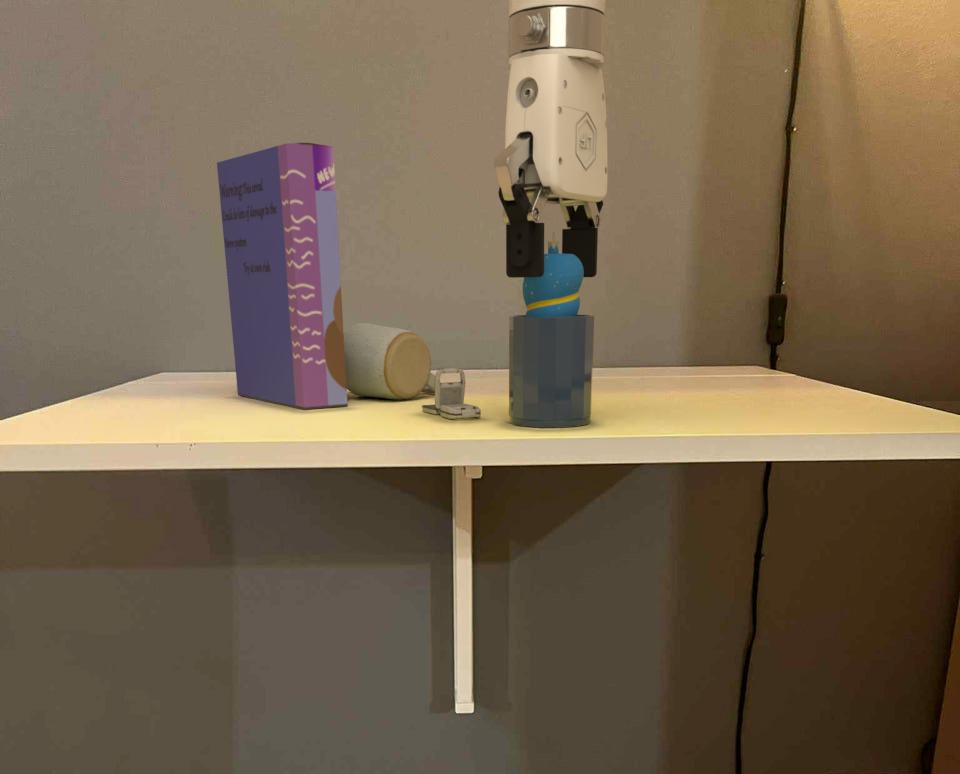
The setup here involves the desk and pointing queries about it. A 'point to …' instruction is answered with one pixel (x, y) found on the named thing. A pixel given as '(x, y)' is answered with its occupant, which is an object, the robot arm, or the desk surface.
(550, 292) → the ornament
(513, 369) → the cup
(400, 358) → the ceramic mug
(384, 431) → the desk surface
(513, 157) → the robot arm
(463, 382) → the strap clip
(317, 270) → the cereal box
